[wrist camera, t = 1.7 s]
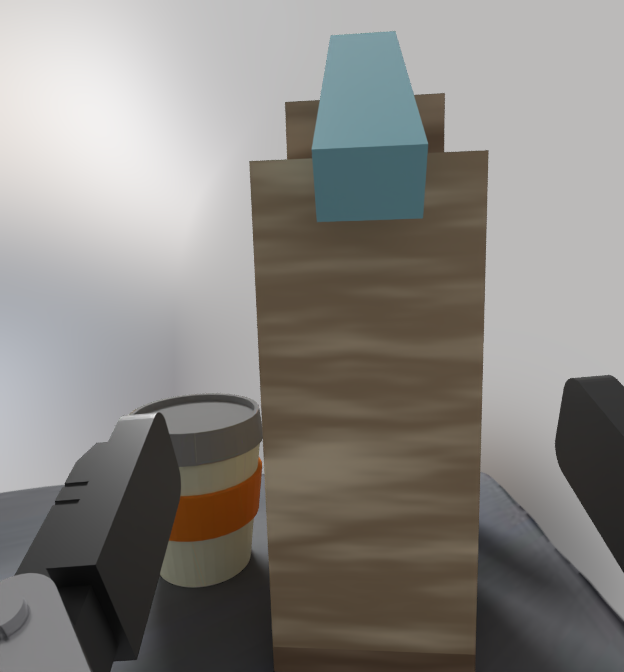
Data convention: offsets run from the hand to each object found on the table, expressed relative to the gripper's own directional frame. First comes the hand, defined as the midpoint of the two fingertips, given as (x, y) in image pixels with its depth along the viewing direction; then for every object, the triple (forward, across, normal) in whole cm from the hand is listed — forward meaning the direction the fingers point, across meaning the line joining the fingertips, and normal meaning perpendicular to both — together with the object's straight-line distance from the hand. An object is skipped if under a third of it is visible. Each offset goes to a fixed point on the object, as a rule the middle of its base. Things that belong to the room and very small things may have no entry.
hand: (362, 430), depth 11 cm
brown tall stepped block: (+19, -1, +34) cm, 39 cm away
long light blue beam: (+28, -3, -3) cm, 28 cm away
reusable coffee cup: (+27, +14, +36) cm, 47 cm away
